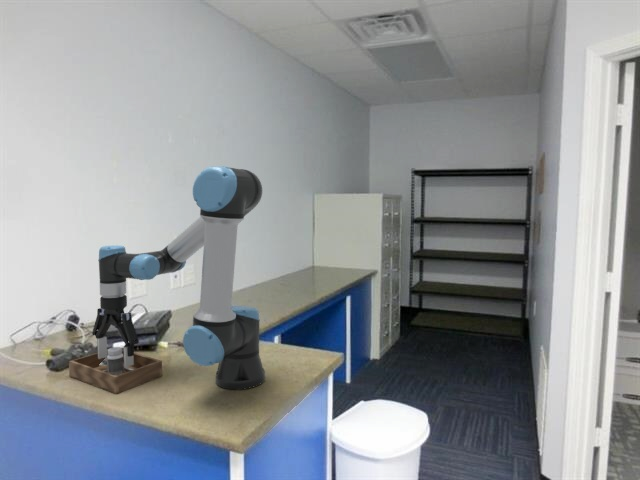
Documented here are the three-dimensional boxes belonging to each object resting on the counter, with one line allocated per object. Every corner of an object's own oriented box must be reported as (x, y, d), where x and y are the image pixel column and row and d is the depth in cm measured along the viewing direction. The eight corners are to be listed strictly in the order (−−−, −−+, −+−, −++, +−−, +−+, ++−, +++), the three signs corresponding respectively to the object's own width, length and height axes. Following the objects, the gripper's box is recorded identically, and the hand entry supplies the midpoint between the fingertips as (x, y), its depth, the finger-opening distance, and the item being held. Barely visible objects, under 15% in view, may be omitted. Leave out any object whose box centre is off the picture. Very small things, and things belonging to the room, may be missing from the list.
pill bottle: (126, 374, 141) (125, 348, 140) (112, 379, 138) (111, 352, 137) (119, 370, 144) (118, 345, 143) (104, 375, 141) (103, 349, 140)
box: (162, 376, 141) (161, 360, 141) (116, 394, 128) (115, 377, 127) (115, 361, 154) (115, 347, 154) (69, 376, 140) (68, 361, 140)
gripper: (149, 297, 135) (151, 365, 137) (101, 289, 148) (103, 351, 150) (127, 302, 129) (129, 373, 131) (78, 292, 142) (81, 357, 144)
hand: (115, 361), depth 141 cm, fingers open, 13 cm apart
